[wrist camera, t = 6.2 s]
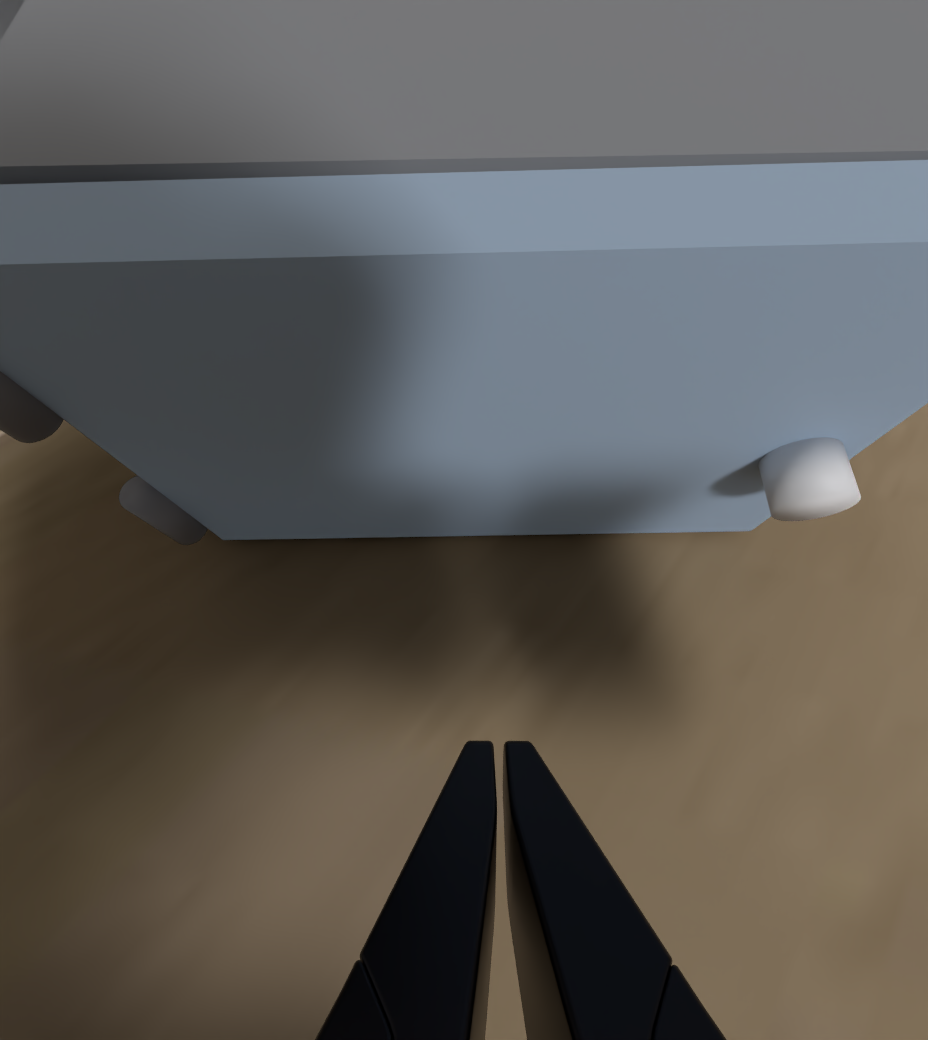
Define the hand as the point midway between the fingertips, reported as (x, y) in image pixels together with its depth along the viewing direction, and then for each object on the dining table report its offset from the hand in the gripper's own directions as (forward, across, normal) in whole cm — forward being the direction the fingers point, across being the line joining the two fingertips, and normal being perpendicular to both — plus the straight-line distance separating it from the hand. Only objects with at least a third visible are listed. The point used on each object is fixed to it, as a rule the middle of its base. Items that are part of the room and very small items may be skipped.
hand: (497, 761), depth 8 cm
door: (+8, +1, 0) cm, 8 cm away
